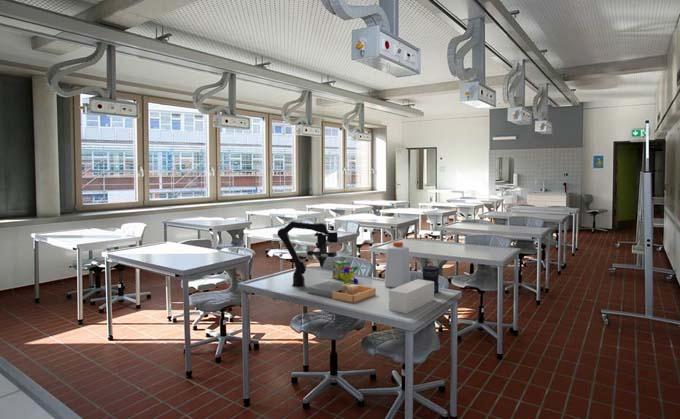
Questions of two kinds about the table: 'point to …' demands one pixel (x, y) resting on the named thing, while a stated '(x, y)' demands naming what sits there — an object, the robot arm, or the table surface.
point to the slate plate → (325, 288)
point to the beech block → (349, 289)
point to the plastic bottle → (397, 265)
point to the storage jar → (431, 276)
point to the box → (362, 294)
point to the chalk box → (340, 268)
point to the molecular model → (351, 275)
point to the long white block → (411, 295)
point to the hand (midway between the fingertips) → (321, 266)
